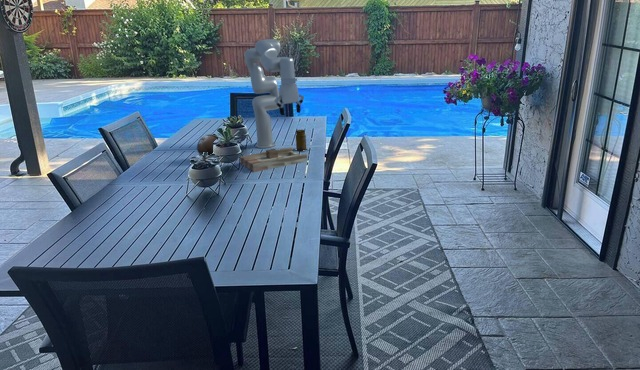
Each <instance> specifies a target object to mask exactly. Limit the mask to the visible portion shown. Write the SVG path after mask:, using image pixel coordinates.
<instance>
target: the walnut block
mask: <svg viewBox="0 0 640 370" xmlns="http://www.w3.org/2000/svg"><path fill="white" fill-rule="evenodd" d="M278 150H279V149H276V148H271V149H266V150H265V152H266V156H267V157H268V158H269V159H272V158H277V157H278Z"/></svg>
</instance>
